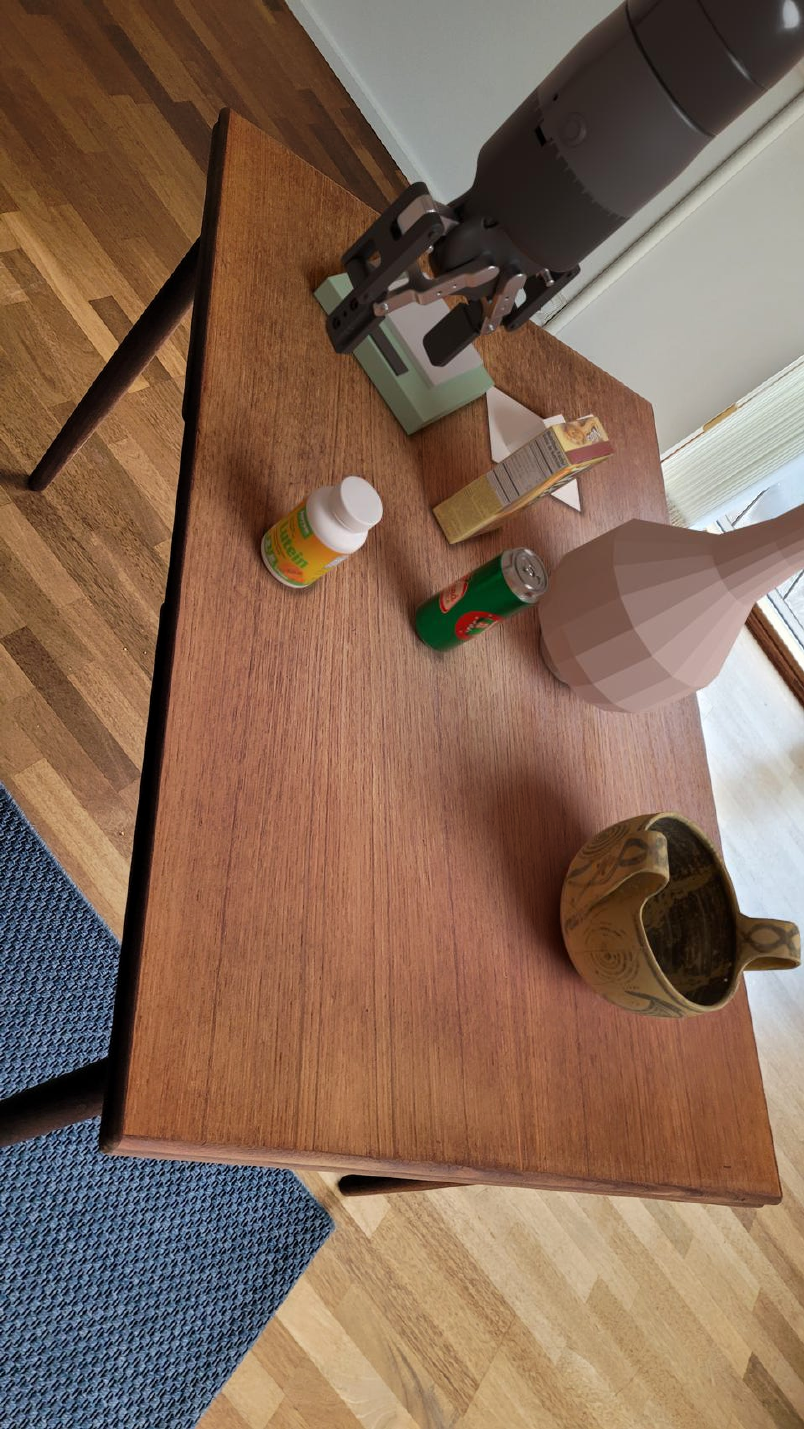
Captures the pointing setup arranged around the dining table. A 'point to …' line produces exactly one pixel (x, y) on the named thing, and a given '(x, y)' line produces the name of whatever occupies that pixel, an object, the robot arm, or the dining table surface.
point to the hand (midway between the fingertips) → (384, 348)
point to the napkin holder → (521, 434)
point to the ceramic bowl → (664, 920)
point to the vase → (659, 607)
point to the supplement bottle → (321, 531)
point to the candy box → (524, 478)
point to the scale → (411, 359)
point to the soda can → (481, 599)
